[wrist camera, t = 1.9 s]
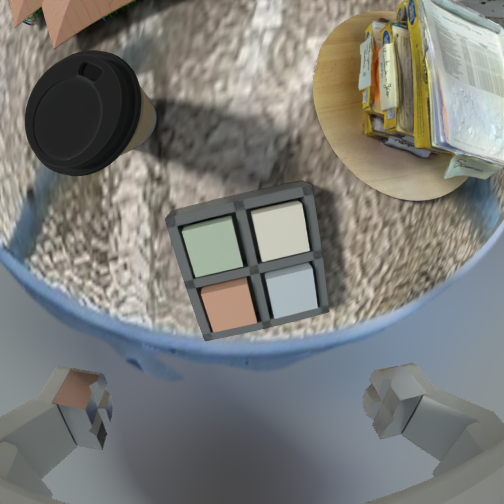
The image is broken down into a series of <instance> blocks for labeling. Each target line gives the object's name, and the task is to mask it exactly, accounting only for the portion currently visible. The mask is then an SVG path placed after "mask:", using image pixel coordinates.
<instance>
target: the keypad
mask: <svg viewBox="0 0 504 504" xmlns="http://www.w3.org/2000/svg"><path fill="white" fill-rule="evenodd" d="M296 200H298V201H299V202H300V203H302V207H303V212H304V218H305V224H306V230H307V237H308V243H309V249H310V251H307V252H302V253H298V254H294V255H290V256H286V257H281V258H277V259H273V260H269V261H265V262H262V259H261V256H260V252H259V248H258V243H257V239H256V234H255V230H254V225H253V221H252V216H251V212H250V211H251V210H255V209H259V208H264V207H268V206H273V205H277V204H282V203H287V202H291V201H296ZM229 215H231V216H232V220H233V225H234V229H235V233H236V237H237V241H238V245H239V249H240V254H241V258H242V263H243V267H239V268H235V269H230V270H226V271H222V272H217V273H213V274H209V275H204V276H200V277H195V274H194V271H193V267H192V264H191V261H190V257H189V254H188V251H187V247H186V244H185V241H184V237H183V234H182V230H183V228H184V226H188V225H192V224H196V223H200V222H204V221H208V220H213V219H217V218H221V217H225V216H229ZM165 222H166V225H167V228H168V232H169V235H170V238H171V242H172V245H173V248H174V252H175V255H176V258H177V261H178V264H179V267H180V271H181V274H182V277H183V280H184V283H185V286H186V289H187V292H188V295H189V298H190V301H191V304H192V307H193V309H194V312H195V315H196V318H197V321H198V324H199V326H200V329H201V332H202V335H203V337H204V340H205V341H209V340H214V339H219V338H224V337H228V336H233V335H238V334H242V333H247V332H251V331H256V330H260V329H264V328H269V327H273V326H277V325H281V324H285V323H289V322H293V321H297V320H301V319H305V318H309V317H313V316H316V315H320V314H324V313H327V312H329V304H328V295H327V286H326V278H325V270H324V262H323V255H322V247H321V240H320V234H319V227H318V220H317V214H316V208H315V201H314V195H313V190H312V185H311V184H309V183H306V182H304V181H297V182H292V183H287V184H282V185H277V186H273V187H268V188H263V189H259V190H254V191H250V192H245V193H241V194H237V195H232V196H228V197H224V198H220V199H216V200H212V201H207V202H203V203H199V204H195V205H192V206H188V207H184V208H180V209H176V210H172V211H171V212H170V213H169V214H168V216H167V217H166V218H165ZM304 262H308V263H309V264H310V266H311V267H312V269H313V276H314V283H315V290H316V298H317V306H318V308H316V309H312V310H308V311H304V312H300V313H297V314H293V315H289V316H285V317H280V318H276V319H275V318H274V315H273V311H272V307H271V303H270V298H269V294H268V289H267V284H266V280H265V275H264V272H267V271H271V270H275V269H279V268H284V267H288V266H292V265H296V264H300V263H304ZM241 277H246V278H247V282H248V286H249V290H250V294H251V298H252V302H253V306H254V310H255V315H256V320H257V323H255V324H251V325H246V326H242V327H237V328H233V329H228V330H223V331H218V332H213V329H212V326H211V323H210V320H209V317H208V314H207V311H206V308H205V305H204V302H203V299H202V296H201V290H202V286H206V285H211V284H215V283H220V282H224V281H228V280H233V279H237V278H241Z"/></svg>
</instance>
